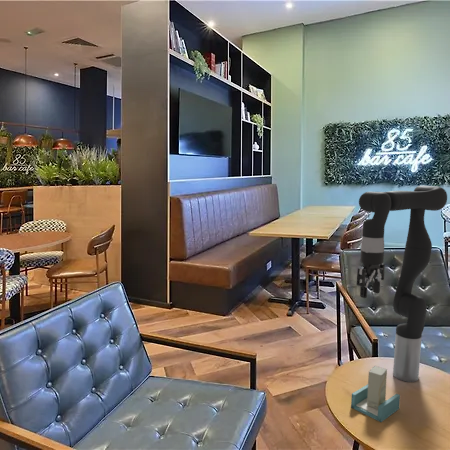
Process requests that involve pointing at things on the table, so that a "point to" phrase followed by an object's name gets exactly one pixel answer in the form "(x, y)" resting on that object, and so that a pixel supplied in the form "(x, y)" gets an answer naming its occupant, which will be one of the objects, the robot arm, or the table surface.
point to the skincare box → (376, 386)
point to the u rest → (378, 414)
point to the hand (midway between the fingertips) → (369, 295)
